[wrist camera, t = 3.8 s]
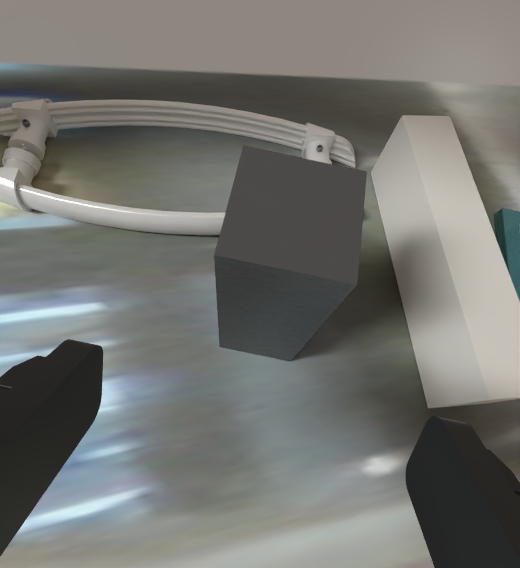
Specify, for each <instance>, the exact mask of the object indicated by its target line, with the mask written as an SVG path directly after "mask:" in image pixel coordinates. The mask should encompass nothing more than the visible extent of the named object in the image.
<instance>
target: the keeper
mask: <svg viewBox="0 0 520 568" xmlns="http://www.w3.org/2000/svg"><path fill="white" fill-rule="evenodd" d="M494 218H495V228H496V239H497V243H498V245H499V248H500V251H501V253H502V256H503V259H504V261H505V264H506V267H507V269H508V272H509V275H510V277H511V280H512V283H513V285H514V288H515V291H516V293H517V296H518V298H519V301H520V212H518V211H513V210H509V209H504V208H502V209H501V210H499V211H498V212H497V213H496V214H495V215H494Z"/></svg>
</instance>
